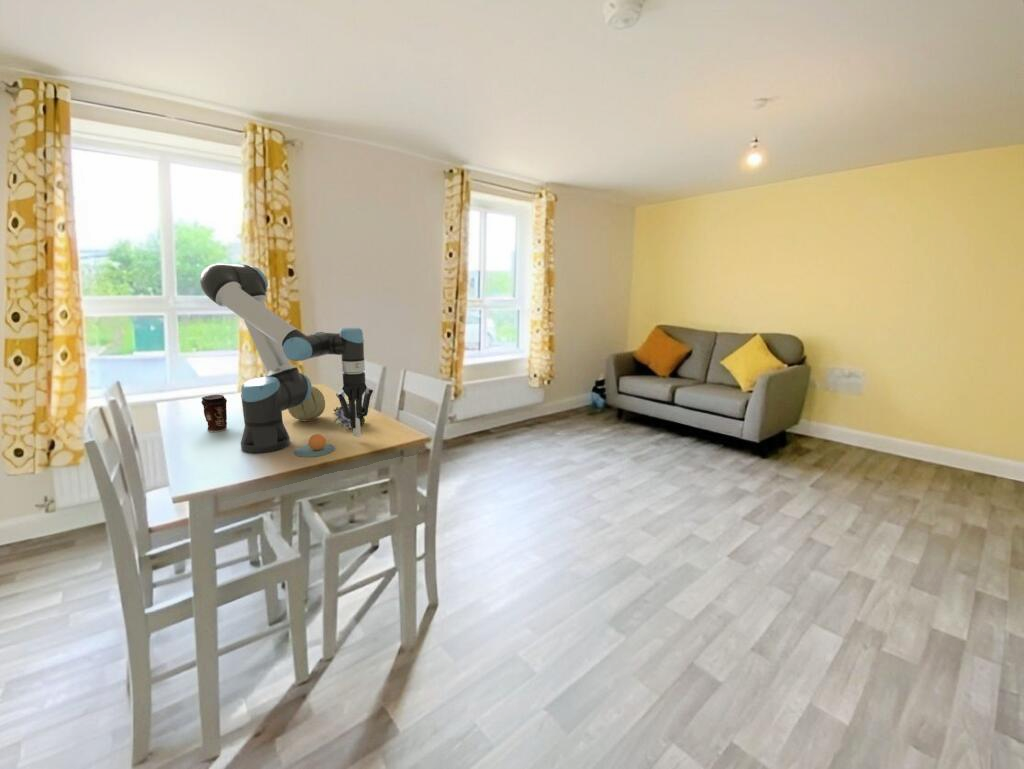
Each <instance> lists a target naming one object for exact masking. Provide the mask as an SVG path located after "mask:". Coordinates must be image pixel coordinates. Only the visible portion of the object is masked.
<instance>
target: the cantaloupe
mask: <svg viewBox="0 0 1024 769" xmlns="http://www.w3.org/2000/svg"><path fill="white" fill-rule="evenodd" d="M311 386H312V385H311ZM325 408H326V400H325V396H324V395H323V392H322V391H321V390H320V389H319V388H317V387H316V386H312V391H311V394H310V397H309V398H308V400H307V401H305V402H304V403H302V404H300V405H298V406H294V407H291V408H289V409H287V411H288V413H289V414H290V415H291V417H293V418H294V419H296V420H298V421H303V422H310V421H313V420H315V419H316V418H318V417H320V416H322V414H323V413H324V411H325Z"/></svg>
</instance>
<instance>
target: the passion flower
mask: <svg viewBox="0 0 1024 769" xmlns="http://www.w3.org/2000/svg"><path fill="white" fill-rule="evenodd" d="M346 403H347V406H348V410H349V401H346ZM333 411H334V413H333V415H335V416H337V418H336V419H335V420H334V421H333V423H335V424H339V423H340V422H341V425H342V428H346V427H347V428H348V429H349V428H351V422H350V419H347V418H345V416H344V413H343V410H342V406H339V407H338V406H336V407H335V408H333ZM355 414H356V403H355ZM365 417H366V416H364V418H363V419H362V424H365V423H366V419H365ZM356 418H357V415H356ZM364 422H365V423H364ZM351 429H352V428H351Z"/></svg>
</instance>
